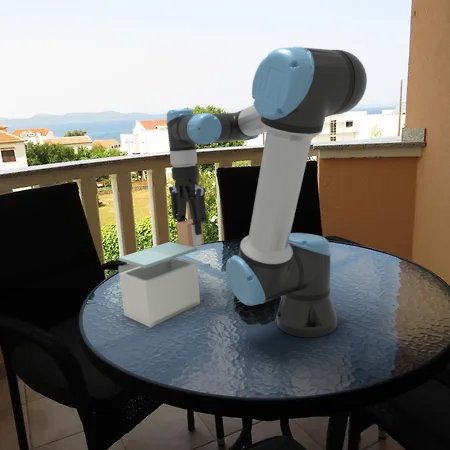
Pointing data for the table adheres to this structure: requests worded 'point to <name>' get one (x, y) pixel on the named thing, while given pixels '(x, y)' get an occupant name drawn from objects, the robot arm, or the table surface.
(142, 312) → the tub
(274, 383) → the table surface
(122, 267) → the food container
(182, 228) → the lid
